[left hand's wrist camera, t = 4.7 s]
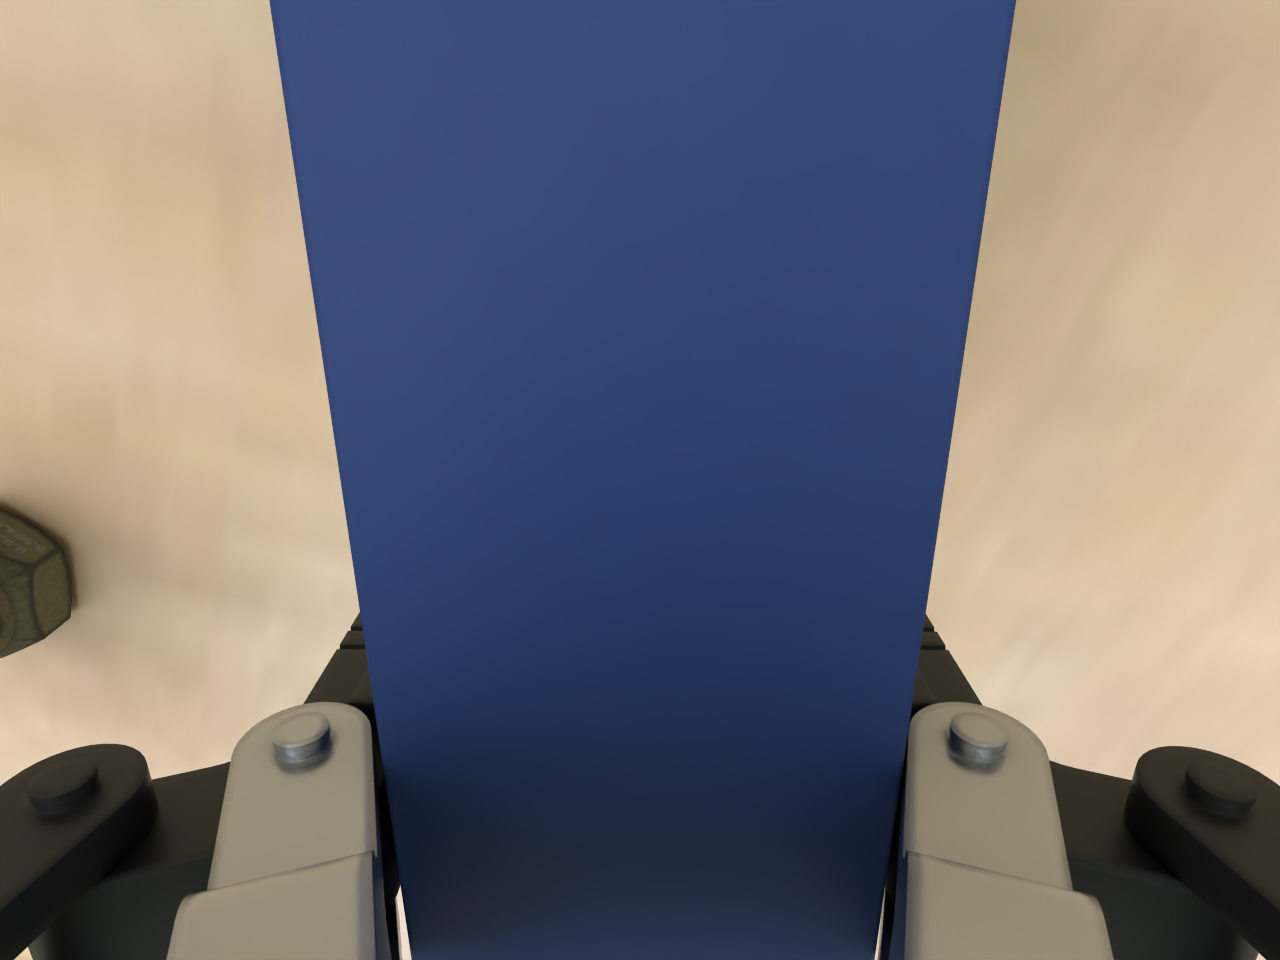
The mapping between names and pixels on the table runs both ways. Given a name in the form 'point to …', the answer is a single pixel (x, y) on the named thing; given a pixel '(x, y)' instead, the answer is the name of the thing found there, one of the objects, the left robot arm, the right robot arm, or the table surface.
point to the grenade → (30, 585)
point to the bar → (642, 442)
